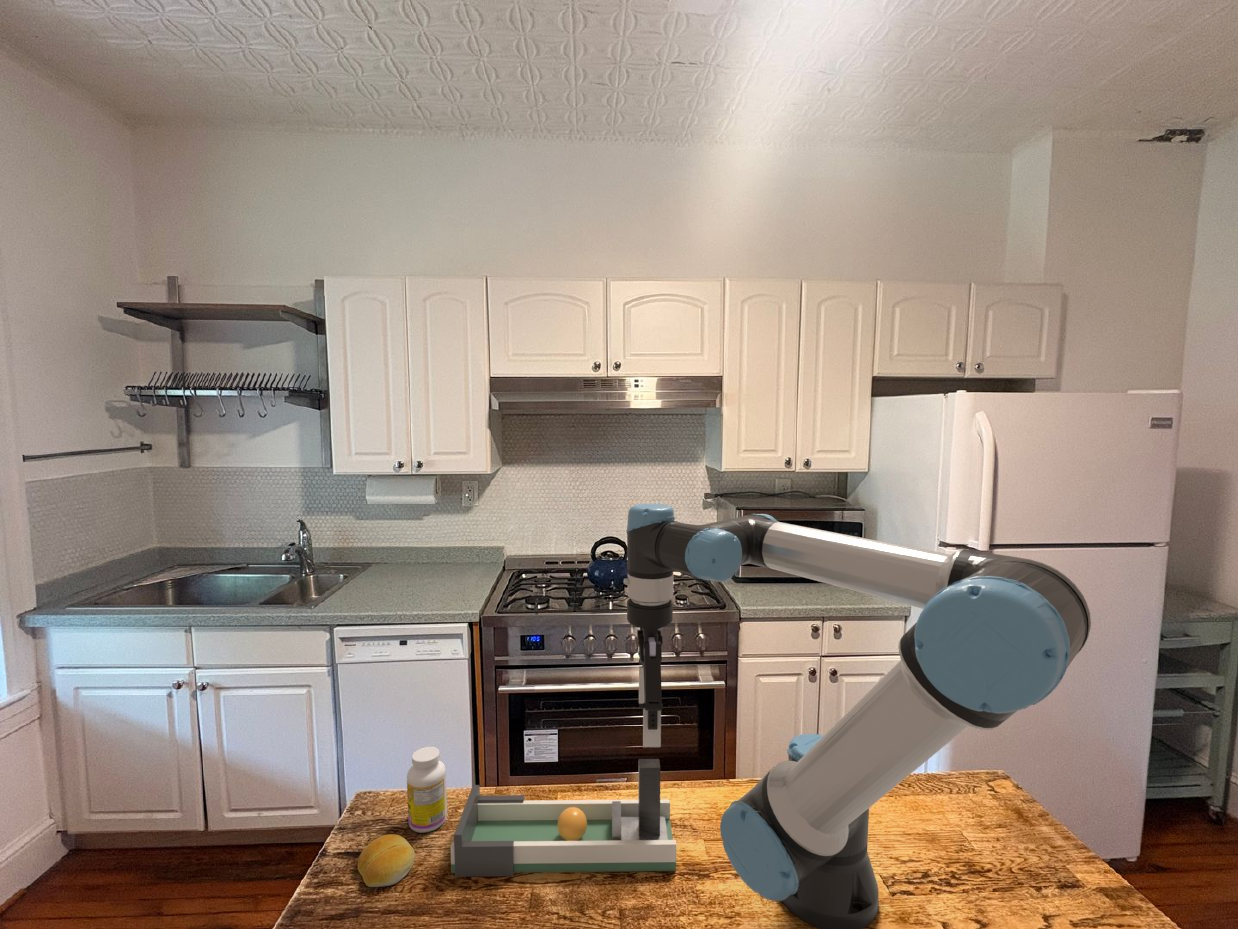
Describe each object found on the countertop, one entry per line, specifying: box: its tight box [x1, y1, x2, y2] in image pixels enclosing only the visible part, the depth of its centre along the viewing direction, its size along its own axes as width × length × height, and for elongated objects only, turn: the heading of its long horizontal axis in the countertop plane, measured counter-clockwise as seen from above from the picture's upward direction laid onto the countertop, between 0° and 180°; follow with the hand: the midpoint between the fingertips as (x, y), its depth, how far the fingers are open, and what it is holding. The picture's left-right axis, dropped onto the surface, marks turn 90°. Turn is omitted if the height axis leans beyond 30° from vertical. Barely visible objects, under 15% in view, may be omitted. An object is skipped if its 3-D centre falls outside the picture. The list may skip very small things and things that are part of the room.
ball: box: [557, 807, 587, 841], centre depth 98 cm, size 5×5×5 cm
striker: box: [612, 758, 668, 841], centre depth 98 cm, size 9×8×13 cm
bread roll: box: [357, 833, 416, 888], centre depth 94 cm, size 8×9×4 cm
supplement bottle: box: [406, 746, 448, 834], centre depth 104 cm, size 7×7×13 cm
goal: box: [453, 784, 526, 878], centre depth 98 cm, size 9×12×7 cm
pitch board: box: [450, 798, 677, 874], centre depth 98 cm, size 36×11×4 cm, turn 91°
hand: (648, 723), depth 97 cm, fingers open, 13 cm apart
